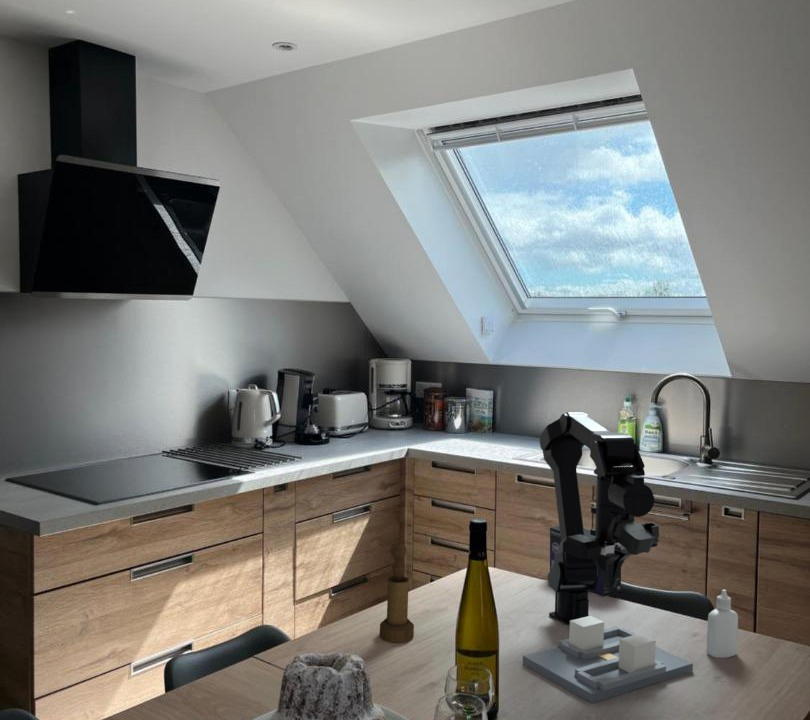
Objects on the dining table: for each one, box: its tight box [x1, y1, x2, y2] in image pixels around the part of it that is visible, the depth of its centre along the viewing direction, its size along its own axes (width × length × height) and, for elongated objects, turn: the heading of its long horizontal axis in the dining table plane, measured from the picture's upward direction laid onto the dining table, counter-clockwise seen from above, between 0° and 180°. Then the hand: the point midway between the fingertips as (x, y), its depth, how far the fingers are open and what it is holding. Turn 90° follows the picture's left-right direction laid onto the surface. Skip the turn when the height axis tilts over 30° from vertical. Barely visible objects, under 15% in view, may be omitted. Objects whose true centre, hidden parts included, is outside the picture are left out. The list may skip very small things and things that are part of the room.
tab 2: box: [618, 633, 657, 673], centre depth 143 cm, size 4×5×5 cm
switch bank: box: [522, 626, 694, 704], centre depth 147 cm, size 17×24×2 cm
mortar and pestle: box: [379, 541, 415, 644], centre depth 158 cm, size 7×6×18 cm
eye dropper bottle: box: [706, 589, 739, 659], centre depth 153 cm, size 4×6×12 cm
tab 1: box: [568, 615, 605, 651], centre depth 151 cm, size 4×5×5 cm
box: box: [549, 525, 622, 597], centre depth 192 cm, size 17×7×12 cm, turn 33°
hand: (609, 587), depth 153 cm, fingers closed
